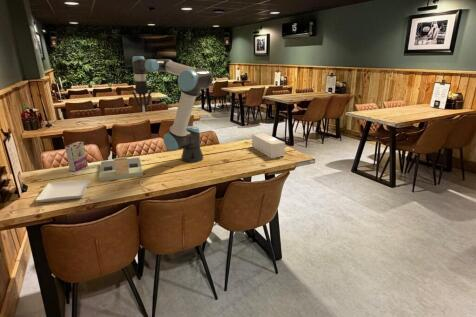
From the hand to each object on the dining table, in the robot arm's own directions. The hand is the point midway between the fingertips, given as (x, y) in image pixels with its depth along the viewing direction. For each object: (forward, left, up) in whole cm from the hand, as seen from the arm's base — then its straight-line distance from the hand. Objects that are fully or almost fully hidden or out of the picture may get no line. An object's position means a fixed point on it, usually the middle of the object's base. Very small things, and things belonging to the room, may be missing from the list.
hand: (144, 115), depth 206 cm
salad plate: (-20, +65, -30) cm, 74 cm away
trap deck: (-11, +28, -29) cm, 42 cm away
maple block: (-21, +33, -27) cm, 47 cm away
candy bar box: (+14, +43, -30) cm, 54 cm away
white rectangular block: (-62, -62, -30) cm, 92 cm away
